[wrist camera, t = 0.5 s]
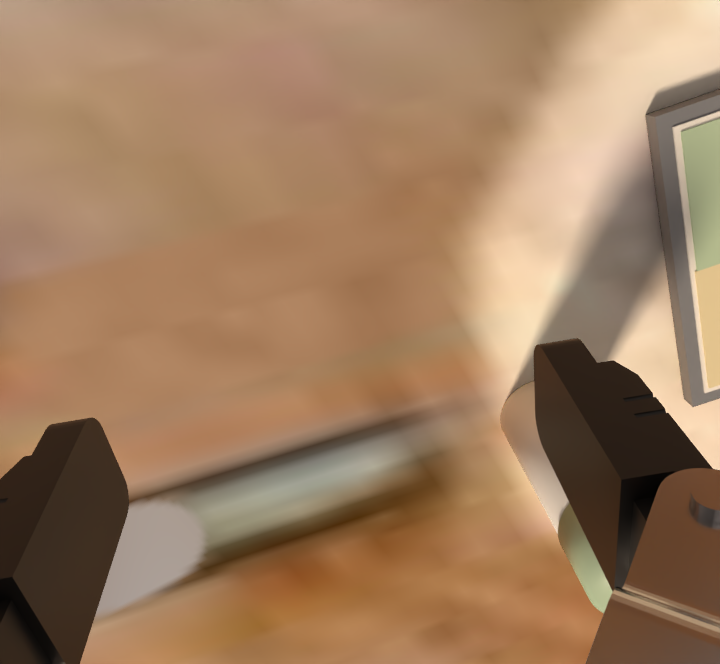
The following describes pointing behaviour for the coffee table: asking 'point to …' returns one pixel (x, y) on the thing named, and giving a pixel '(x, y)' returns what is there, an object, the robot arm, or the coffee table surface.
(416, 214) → the coffee table surface
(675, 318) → the picture board
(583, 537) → the marker
